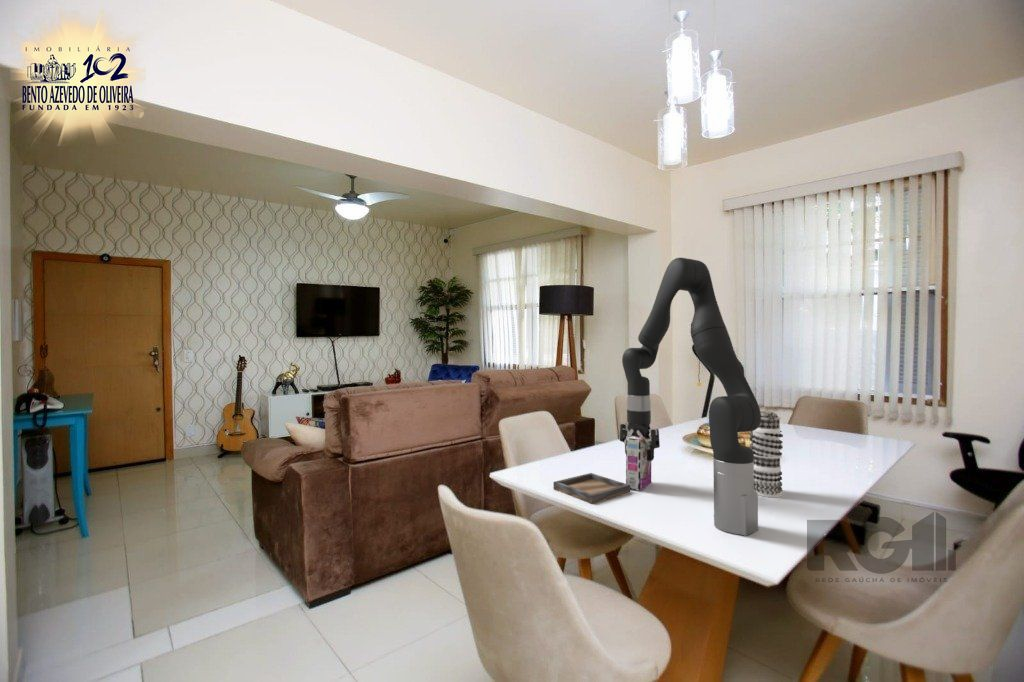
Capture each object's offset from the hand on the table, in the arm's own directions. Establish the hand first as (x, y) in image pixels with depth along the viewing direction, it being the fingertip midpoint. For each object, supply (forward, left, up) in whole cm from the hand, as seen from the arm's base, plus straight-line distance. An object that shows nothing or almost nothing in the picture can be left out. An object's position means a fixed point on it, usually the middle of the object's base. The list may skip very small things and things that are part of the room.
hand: (639, 458), depth 150 cm
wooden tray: (+6, +16, -9) cm, 19 cm away
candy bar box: (0, 0, -9) cm, 9 cm away
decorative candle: (-28, -26, -9) cm, 39 cm away
